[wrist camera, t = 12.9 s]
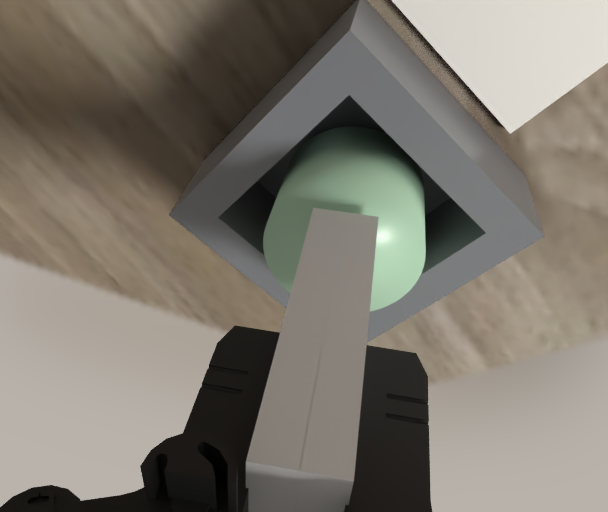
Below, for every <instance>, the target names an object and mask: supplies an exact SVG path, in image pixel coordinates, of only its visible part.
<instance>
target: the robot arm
mask: <svg viewBox="0 0 608 512" xmlns="http://www.w3.org/2000/svg"><path fill="white" fill-rule="evenodd" d="M377 228H378V217H376V216H369V215H362V214H355V213H348V212H341V211H334V210H327V209H320V208H313V211H312V214H311V218H310V222H309V226H308V230H307V233H306V237H305V241H304V245H303V248H302V252H301V256H300V260H299V263H298V267H297V271H296V275H295V278H294V282H293V286H292V290H291V294H290V297H289V301H288V305H287V309H286V312H285V316H284V320H283V324H282V327H281V331H280V333H278V332H272V331H265V330H259V329H253V328H247V327H241V326H234V327H233V328H232V329H231V330H230V331H229V332H228V333H227V334H226V335H225V336H224V337H223V338H222V339H221V340H220V341H219V342H218V343H217V346H216V348H215V351H214V353H213V356H212V359H211V361H210V364H209V369H208V370H207V372H206V374H205V377H204V380H203V382H202V387H201V388H200V390H199V393H198V396H197V398H196V401H195V403H194V406H193V409H192V412H191V414H190V416H189V419H188V422H187V424H186V427H185V430H184V432H183V434H180V435H177V436H174V437H171V438H168V439H166V440H164V441H163V442H162V443H160V444H159V445H158V446H156V447H155V448H154V449H152V450H151V451H150V453H149V454H148V456H147V457H146V459H145V460H144V462H143V463H142V465H141V472H142V477H143V482H144V488H142V489H140V490H138V491H135V492H132V493H128V494H124V495H120V496H113V497H105V498H98V499H91V500H84V501H80V499H79V498H78V497H77V496H75V495H74V494H73V493H72V492H71V491H69V490H68V489H65V488H60V487H57V486H53V485H50V486H42V487H34V488H31V489H28V490H26V491H24V492H22V493H20V494H18V495H16V496H14V497H12V498H11V499H10V500H8V501H7V502H6V503H5V504H4V505H3V506H1V507H0V512H432V508H431V501H430V465H429V464H430V461H429V425H428V421H429V419H428V418H429V417H428V376H427V374H426V372H425V370H424V368H423V366H422V364H421V362H420V360H419V358H418V356H417V354H416V353H411V352H405V351H399V350H393V349H386V348H380V347H374V346H368V345H367V335H368V324H369V314H370V303H371V292H372V281H373V271H374V260H375V249H376V239H377Z"/></svg>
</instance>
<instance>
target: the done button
mask: <svg viewBox="0 0 608 512" xmlns="http://www.w3.org/2000/svg"><path fill="white" fill-rule="evenodd" d="M313 208H320V209H327V210H334V211H341V212H348V213H355V214H362V215H369V216H376V217H378V228H377V239H376V249H375V260H374V271H373V281H372V292H371V303H370V311H374V310H378V309H381V308H383V307H386V306H388V305H390V304H392V303H394V302H396V301H398V300H399V299H400V298H402V297H403V296H404V295H406V294H407V293H408V292H409V291H410V290H411V289H412V287H413V286H414V285H415V284H416V282H417V281H418V279H419V277H420V275H421V273H422V270H423V267H424V263H425V254H426V244H425V200H424V181H423V176H422V173H421V170H420V168H419V165H418V164H417V163H416V162H415V161H414V160H413V159H412V158H411V157H410V156H409V155H408V154H407V153H406V152H405V151H404V150H403V149H402V148H401V147H400V146H399V145H398V144H397V143H396V142H395V141H394V140H393V139H392V138H391V137H390V136H389V135H387V134H385V133H383V132H380V131H377V130H374V129H370V128H365V127H356V126H351V127H340V128H334V129H331V130H327V131H324V132H322V133H320V134H318V135H316V136H314V137H313V138H311V139H309V140H308V141H307V142H306V143H304V144H303V145H302V146H301V147H300V148H299V149H298V150H297V152H296V153H295V155H294V156H293V158H292V160H291V162H290V164H289V166H288V168H287V171H286V174H285V176H284V179H283V182H282V184H281V187H280V190H279V192H278V195H277V198H276V200H275V203H274V206H273V208H272V211H271V214H270V216H269V219H268V221H267V224H266V228H265V231H264V237H263V249H264V255H265V259H266V262H267V265H268V267H269V269H270V271H271V273H272V274H273V276H274V277H275V278H276V280H277V281H278V282H279V283H280V284H281V286H282V287H283V288H285V289H286V290H287V291H288V292H289V293H290V294H291V290H292V286H293V282H294V278H295V275H296V271H297V267H298V263H299V260H300V256H301V252H302V248H303V245H304V241H305V237H306V233H307V230H308V226H309V222H310V218H311V214H312V211H313Z"/></svg>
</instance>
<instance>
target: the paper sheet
mask: <svg viewBox="0 0 608 512" xmlns="http://www.w3.org/2000/svg"><path fill="white" fill-rule="evenodd" d="M392 1H393V3H394V4H395V5H396V6H397V7H398V8H399V9H400V10H401V12H402V13H403V14H404V15H405V16H406V17H407V18H408V19H409V21H410V22H411V23H412V24H413V25H414V26H415V27H416V28H417V30H418V31H419V32H420V33H421V34H422V35H423V36H424V37H425V39H426V40H427V41H428V42H429V43H430V44H431V45H432V46H433V48H434V49H435V50H436V51H437V52H438V53H439V54H440V55H441V57H442V58H443V59H444V60H445V61H446V62H447V63H448V64H449V66H450V67H451V68H452V69H453V70H454V71H455V72H456V73H457V75H458V76H459V77H460V78H461V79H462V80H463V81H464V82H465V84H466V85H467V86H468V87H469V88H470V89H471V90H472V91H473V93H474V94H475V95H476V96H477V97H478V98H479V99H480V100H481V102H482V103H483V104H484V105H485V106H486V107H487V108H488V109H489V110H490V112H491V113H492V114H493V115H494V116H495V117H496V118H497V119H498V121H499V122H500V123H501V124H502V125H503V126H504V127H505V128H506V130H507V131H508V132H509V133H510V134H511V133H512V132H513V131H515V130H516V129H518V128H519V127H520V126H522V125H523V124H524V123H526V122H527V121H528V120H530V119H531V118H533V117H534V116H535V115H537V114H538V113H539V112H541V111H542V110H543V109H545V108H546V107H548V106H549V105H550V104H552V103H553V102H554V101H556V100H557V99H558V98H560V97H561V96H563V95H564V94H565V93H567V92H568V91H569V90H571V89H572V88H574V87H575V86H576V85H578V84H579V83H580V82H582V81H583V80H584V79H586V78H587V77H589V76H590V75H591V74H593V73H594V72H595V71H597V70H598V69H599V68H601V67H602V66H604V65H605V64H606V63H608V0H392Z"/></svg>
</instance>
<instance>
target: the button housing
mask: <svg viewBox="0 0 608 512" xmlns="http://www.w3.org/2000/svg"><path fill="white" fill-rule="evenodd" d="M351 126H356V127H365V128H370V129H374V130H377V131H380V132H383V133H385V134H387V135H389V136H390V137H391V138H392V139H393V140H394V141H395V142H396V143H397V144H398V145H399V146H400V147H401V148H402V149H403V150H404V151H405V152H406V153H407V154H408V155H409V156H410V157H411V158H412V159H413V160H414V161H415V162H416V163H417V164H418V165H419V168H420V170H421V173H422V176H423V181H424V200H425V244H426V254H425V263H424V267H423V270H422V273H421V275H420V277H419V279H418V281H417V282H416V284H415V285H414V286H413V287H412V289H411V290H410V291H409V292H408V293H407V294H406V295H404V296H403V297H402V298H400V299H399V300H398V301H396V302H394V303H392V304H390V305H388V306H386V307H383V308H381V309H378V310H374V311H370V314H369V324H368V335H367V342H369V341H371V340H372V339H374V338H376V337H377V336H379V335H381V334H382V333H384V332H386V331H388V330H389V329H391V328H393V327H394V326H396V325H398V324H399V323H401V322H403V321H404V320H406V319H408V318H409V317H411V316H413V315H414V314H416V313H418V312H419V311H421V310H423V309H424V308H426V307H428V306H429V305H431V304H433V303H434V302H436V301H438V300H439V299H441V298H443V297H444V296H446V295H448V294H449V293H451V292H453V291H454V290H456V289H458V288H459V287H461V286H463V285H464V284H466V283H468V282H469V281H471V280H473V279H474V278H476V277H478V276H479V275H481V274H483V273H484V272H486V271H488V270H489V269H491V268H493V267H494V266H496V265H498V264H499V263H501V262H503V261H504V260H506V259H508V258H509V257H511V256H513V255H514V254H516V253H518V252H519V251H521V250H523V249H524V248H526V247H528V246H529V245H531V244H533V243H534V242H536V241H538V240H539V239H541V238H543V237H544V233H543V230H542V227H541V224H540V221H539V218H538V214H537V211H536V208H535V205H534V202H533V198H532V195H531V192H530V189H529V186H528V183H527V179H526V176H525V174H524V173H523V172H522V171H521V170H520V169H519V168H518V166H517V165H516V164H515V163H514V162H513V161H512V160H511V159H510V158H509V157H508V155H507V154H506V153H505V152H504V151H503V150H502V149H501V148H500V147H499V146H498V144H497V143H496V142H495V141H494V140H493V139H492V138H491V137H490V136H489V135H488V133H487V132H486V131H485V130H484V129H483V128H482V127H481V126H480V125H479V124H478V122H477V121H476V120H475V119H474V118H473V117H472V116H471V115H470V114H469V113H468V111H467V110H466V109H465V108H464V107H463V106H462V105H461V104H460V103H459V102H458V100H457V99H456V98H455V97H454V96H453V95H452V94H451V93H450V92H449V91H448V89H447V88H446V87H445V86H444V85H443V84H442V83H441V82H440V81H439V80H438V78H437V77H436V76H435V75H434V74H433V73H432V72H431V71H430V70H429V69H428V67H427V66H426V65H425V64H424V63H423V62H422V61H421V60H420V59H419V58H418V56H417V55H416V54H415V53H414V52H413V51H412V50H411V49H410V48H409V46H408V45H407V44H406V43H405V42H404V41H403V40H402V39H401V38H400V37H399V35H398V34H397V33H396V32H395V31H394V30H393V29H392V28H391V27H390V26H389V24H388V23H387V22H386V21H385V20H384V19H383V18H382V17H381V16H380V15H379V13H378V12H377V11H376V10H375V9H374V8H373V7H372V6H371V5H370V4H369V2H368V1H367V0H356V1H355V2H354V3H353V4H352V5H351V6H350V7H349V8H348V9H347V10H346V11H345V12H344V14H343V15H342V16H341V17H340V18H339V19H338V20H337V21H336V22H335V23H334V24H333V25H332V26H331V27H330V28H329V29H328V30H327V31H326V32H325V33H324V35H323V36H322V37H321V38H320V39H319V40H318V41H317V42H316V43H315V44H314V45H313V46H312V47H311V48H310V49H309V50H308V51H307V52H306V53H305V55H304V56H303V57H302V58H301V59H300V60H299V61H298V62H297V63H296V64H295V65H294V66H293V67H292V68H291V69H290V70H289V71H288V72H287V73H286V74H285V76H284V77H283V78H282V79H281V80H280V81H279V82H278V83H277V84H276V85H275V86H274V87H273V88H272V89H271V90H270V91H269V92H268V93H267V94H266V95H265V97H264V98H263V99H262V100H261V101H260V102H259V103H258V104H257V105H256V106H255V107H254V108H253V109H252V110H251V111H250V112H249V113H248V114H247V115H246V116H245V118H244V119H243V120H242V121H241V122H240V123H239V124H238V125H237V126H236V127H235V128H234V129H233V130H232V131H231V132H230V133H229V134H228V135H227V136H226V137H225V139H224V140H223V141H222V142H221V143H220V144H219V145H218V146H217V147H216V148H215V149H214V150H213V151H212V152H211V153H210V154H209V155H208V156H207V157H206V158H205V160H204V161H203V162H202V163H201V165H200V167H199V168H198V170H197V171H196V173H195V174H194V176H193V178H192V179H191V181H190V182H189V184H188V185H187V187H186V189H185V190H184V192H183V193H182V195H181V196H180V198H179V199H178V201H177V203H176V204H175V206H174V207H173V209H172V210H171V212H170V214H169V215H170V216H171V217H172V218H173V219H175V220H176V221H177V222H178V223H180V224H181V225H182V226H183V227H185V228H186V229H187V230H188V231H190V232H191V233H192V234H193V235H195V236H196V237H197V238H199V239H200V240H201V241H202V242H204V243H205V244H206V245H207V246H209V247H210V248H211V249H212V250H214V251H215V252H216V253H217V254H219V255H220V256H221V257H222V258H224V259H225V260H226V261H227V262H229V263H230V264H231V265H233V266H234V267H235V268H236V269H238V270H239V271H240V272H241V273H243V274H244V275H245V276H246V277H248V278H249V279H250V280H251V281H253V282H254V283H255V284H256V285H258V286H259V287H260V288H261V289H263V290H264V291H265V292H267V293H268V294H269V295H270V296H272V297H273V298H274V299H275V300H277V301H278V302H279V303H280V304H282V305H283V306H284V307H285V308H287V305H288V301H289V297H290V293H289V292H288V291H287V290H286V289H285V288H283V287H282V286H281V284H280V283H279V282H278V281H277V280H276V278H275V277H274V276H273V274H272V273H271V271H270V269H269V267H268V265H267V262H266V259H265V255H264V249H263V237H264V231H265V228H266V224H267V221H268V219H269V216H270V214H271V211H272V208H273V206H274V203H275V200H276V198H277V195H278V192H279V190H280V187H281V184H282V182H283V179H284V176H285V174H286V171H287V168H288V166H289V164H290V162H291V160H292V158H293V156H294V155H295V153H296V152H297V150H298V149H299V148H300V147H301V146H302V145H303V144H304V143H306V142H307V141H308V140H309V139H311V138H313V137H314V136H316V135H318V134H320V133H322V132H324V131H327V130H331V129H334V128H340V127H351Z"/></svg>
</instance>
